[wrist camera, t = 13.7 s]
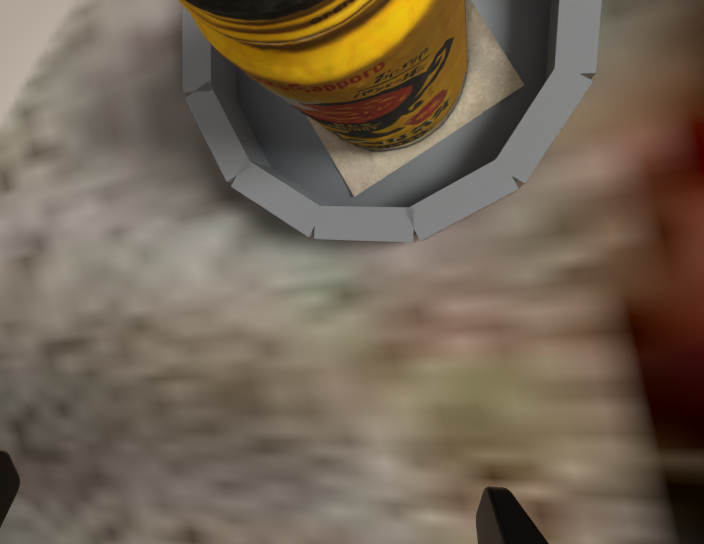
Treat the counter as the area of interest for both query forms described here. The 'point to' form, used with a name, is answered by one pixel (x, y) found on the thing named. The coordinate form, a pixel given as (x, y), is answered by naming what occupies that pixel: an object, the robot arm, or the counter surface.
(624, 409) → the counter surface
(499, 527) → the robot arm
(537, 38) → the dish
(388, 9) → the condiment
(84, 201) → the counter surface
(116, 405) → the counter surface
